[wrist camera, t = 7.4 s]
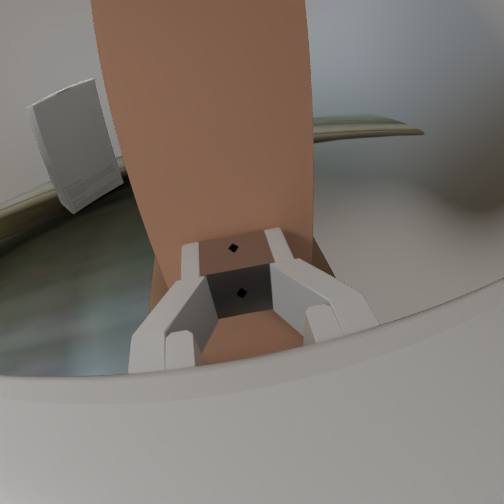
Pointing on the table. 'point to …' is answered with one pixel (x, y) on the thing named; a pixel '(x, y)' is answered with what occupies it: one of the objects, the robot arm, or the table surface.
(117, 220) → the table surface
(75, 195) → the skincare box
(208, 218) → the post
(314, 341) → the robot arm
